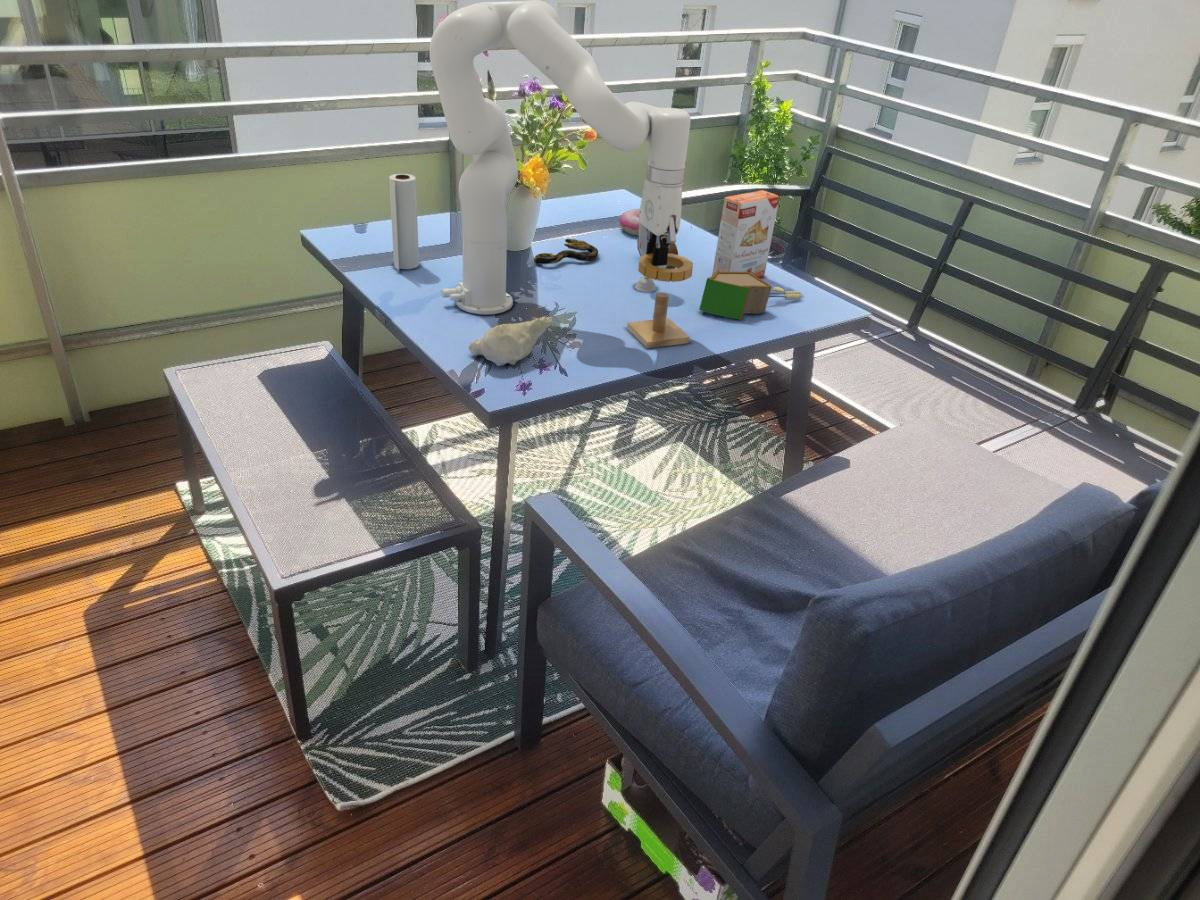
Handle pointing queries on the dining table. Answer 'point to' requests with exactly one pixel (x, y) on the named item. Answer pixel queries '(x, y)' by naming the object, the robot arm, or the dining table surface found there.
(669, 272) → the ring
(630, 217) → the donut
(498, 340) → the conch shell
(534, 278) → the dining table surface
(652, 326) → the stand
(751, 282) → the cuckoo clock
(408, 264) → the paper towel roll
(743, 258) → the cracker box
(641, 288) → the chalice
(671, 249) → the tin
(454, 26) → the robot arm
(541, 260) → the toy snake
